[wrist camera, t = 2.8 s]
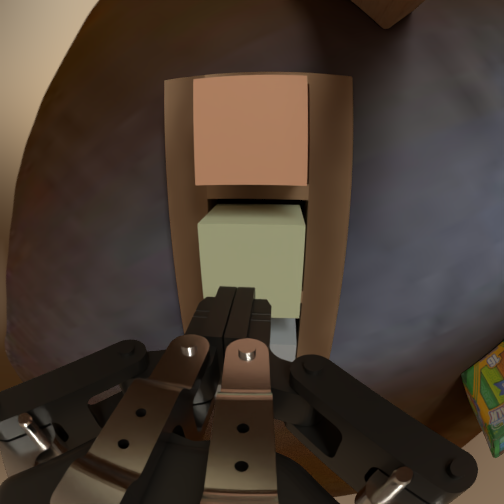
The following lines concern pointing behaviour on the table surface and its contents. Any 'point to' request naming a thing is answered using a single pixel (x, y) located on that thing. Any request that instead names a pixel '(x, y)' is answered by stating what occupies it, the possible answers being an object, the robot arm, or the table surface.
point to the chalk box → (488, 396)
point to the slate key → (281, 339)
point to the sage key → (255, 252)
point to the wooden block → (387, 10)
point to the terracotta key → (251, 130)
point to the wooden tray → (314, 195)
